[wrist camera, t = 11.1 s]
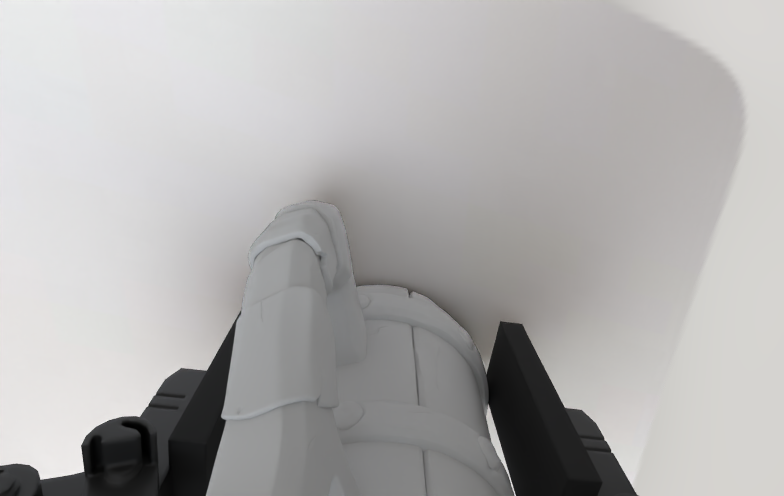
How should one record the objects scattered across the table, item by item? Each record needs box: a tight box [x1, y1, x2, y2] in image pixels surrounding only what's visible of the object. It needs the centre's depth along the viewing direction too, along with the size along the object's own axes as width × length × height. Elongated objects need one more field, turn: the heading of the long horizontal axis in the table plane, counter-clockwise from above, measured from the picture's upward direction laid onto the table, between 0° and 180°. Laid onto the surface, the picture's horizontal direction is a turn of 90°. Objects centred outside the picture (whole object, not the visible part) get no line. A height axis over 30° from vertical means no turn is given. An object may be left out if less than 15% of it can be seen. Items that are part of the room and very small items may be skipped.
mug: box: [206, 200, 514, 496], centre depth 12 cm, size 8×12×12 cm, turn 14°
